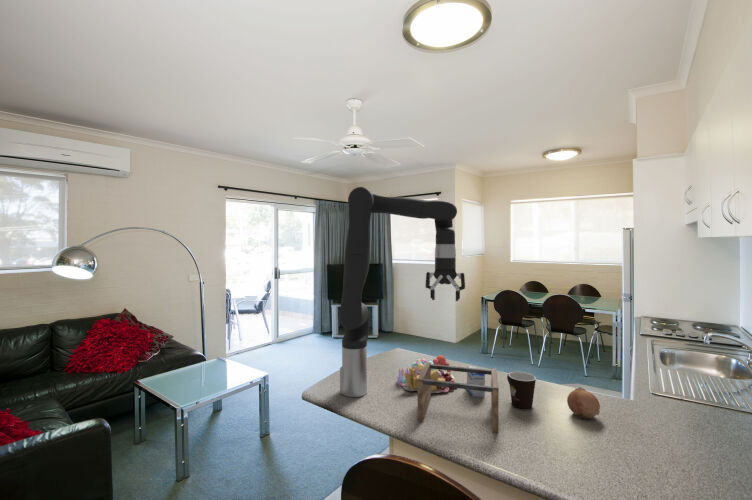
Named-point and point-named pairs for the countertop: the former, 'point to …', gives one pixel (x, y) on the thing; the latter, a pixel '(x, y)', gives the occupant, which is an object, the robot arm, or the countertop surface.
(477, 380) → the medicine box
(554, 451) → the countertop surface
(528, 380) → the coffee mug
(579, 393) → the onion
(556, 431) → the countertop surface
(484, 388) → the frame
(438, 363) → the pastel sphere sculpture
